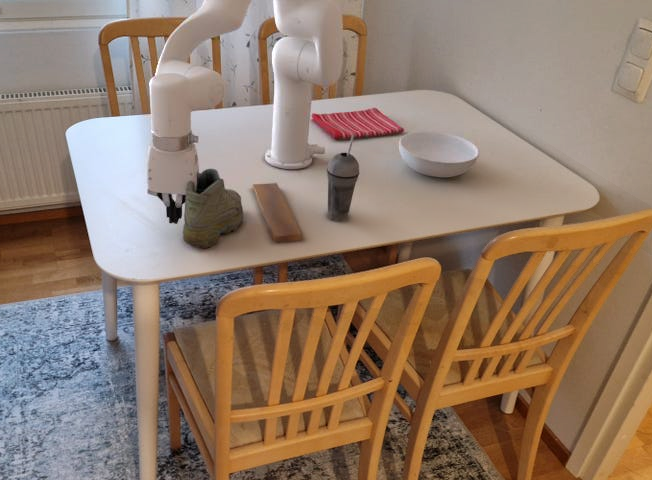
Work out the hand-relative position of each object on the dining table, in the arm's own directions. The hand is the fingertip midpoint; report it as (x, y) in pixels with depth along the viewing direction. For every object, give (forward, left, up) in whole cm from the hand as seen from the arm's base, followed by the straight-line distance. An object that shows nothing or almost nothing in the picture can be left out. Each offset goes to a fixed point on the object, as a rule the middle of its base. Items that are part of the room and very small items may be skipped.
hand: (174, 220), depth 135 cm
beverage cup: (-37, -2, -3) cm, 37 cm away
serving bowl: (-71, -23, -3) cm, 75 cm away
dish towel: (-59, -53, -3) cm, 79 cm away
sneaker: (-8, 0, -3) cm, 9 cm away
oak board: (-23, -5, -3) cm, 24 cm away
